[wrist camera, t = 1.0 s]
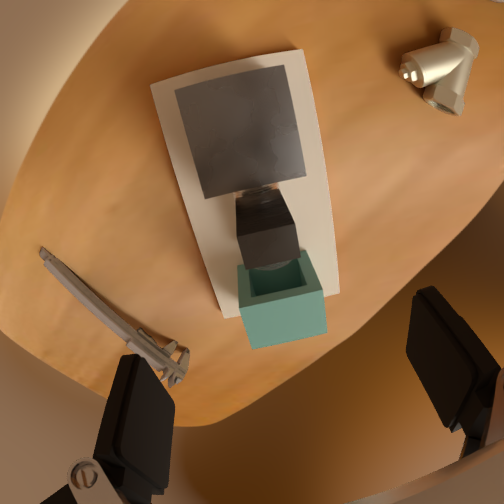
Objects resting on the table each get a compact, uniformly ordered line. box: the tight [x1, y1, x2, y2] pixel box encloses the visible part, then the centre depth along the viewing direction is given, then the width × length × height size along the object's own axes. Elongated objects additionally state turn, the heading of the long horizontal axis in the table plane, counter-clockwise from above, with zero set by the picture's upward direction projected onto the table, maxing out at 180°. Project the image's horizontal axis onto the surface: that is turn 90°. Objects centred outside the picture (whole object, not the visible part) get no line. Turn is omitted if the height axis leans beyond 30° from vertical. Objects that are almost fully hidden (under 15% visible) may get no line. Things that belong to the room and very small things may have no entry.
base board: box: [150, 49, 340, 319], centre depth 26 cm, size 12×23×1 cm, turn 13°
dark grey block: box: [174, 65, 307, 199], centre depth 20 cm, size 6×7×6 cm
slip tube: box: [233, 182, 301, 271], centre depth 19 cm, size 3×14×9 cm, turn 13°
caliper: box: [39, 247, 190, 388], centre depth 29 cm, size 20×1×6 cm, turn 47°
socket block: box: [237, 250, 327, 349], centre depth 27 cm, size 6×5×6 cm
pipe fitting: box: [398, 27, 479, 116], centre depth 20 cm, size 8×4×7 cm
